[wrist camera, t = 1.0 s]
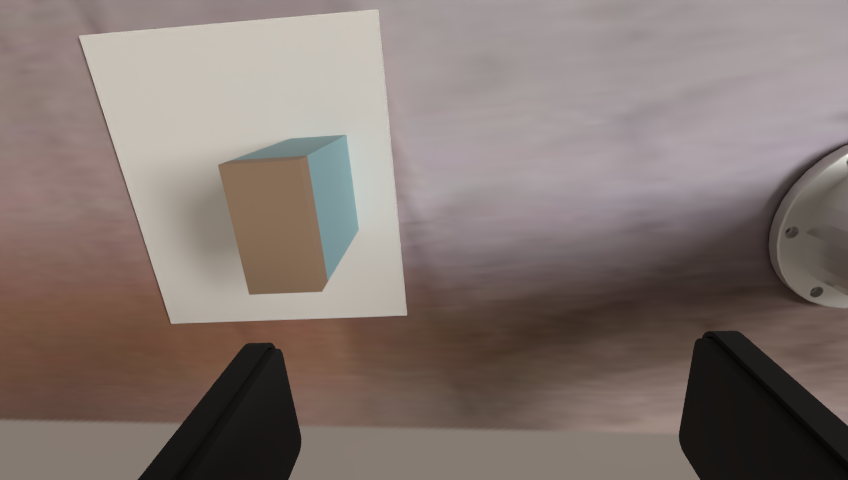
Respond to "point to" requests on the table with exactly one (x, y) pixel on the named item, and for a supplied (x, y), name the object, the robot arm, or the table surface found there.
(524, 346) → the table surface
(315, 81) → the board
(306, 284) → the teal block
